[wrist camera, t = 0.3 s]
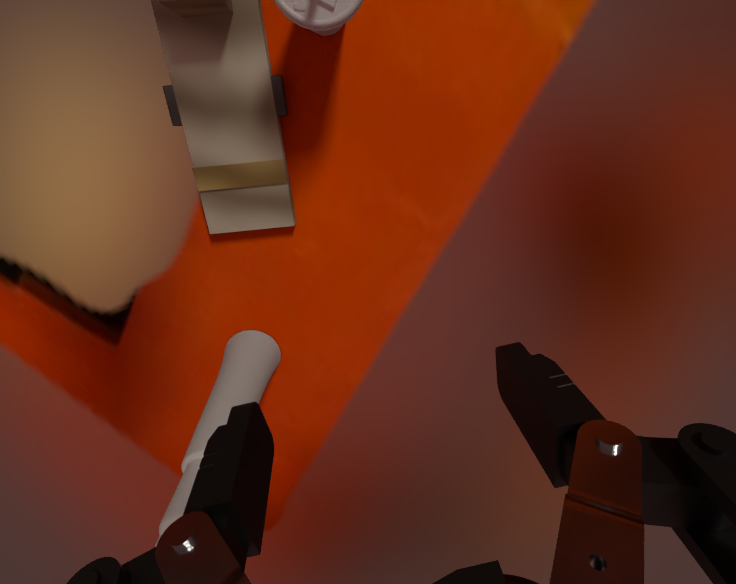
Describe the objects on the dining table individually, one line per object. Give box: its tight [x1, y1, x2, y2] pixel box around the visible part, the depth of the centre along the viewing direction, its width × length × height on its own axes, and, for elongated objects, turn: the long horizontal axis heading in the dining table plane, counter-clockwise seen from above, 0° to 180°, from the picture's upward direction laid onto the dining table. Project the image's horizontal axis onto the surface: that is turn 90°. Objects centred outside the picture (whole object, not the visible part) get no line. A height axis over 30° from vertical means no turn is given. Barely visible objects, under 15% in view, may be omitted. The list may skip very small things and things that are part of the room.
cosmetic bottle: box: [155, 330, 281, 547], centre depth 33 cm, size 6×6×22 cm
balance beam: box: [151, 0, 296, 234], centre depth 31 cm, size 22×10×5 cm, turn 5°
